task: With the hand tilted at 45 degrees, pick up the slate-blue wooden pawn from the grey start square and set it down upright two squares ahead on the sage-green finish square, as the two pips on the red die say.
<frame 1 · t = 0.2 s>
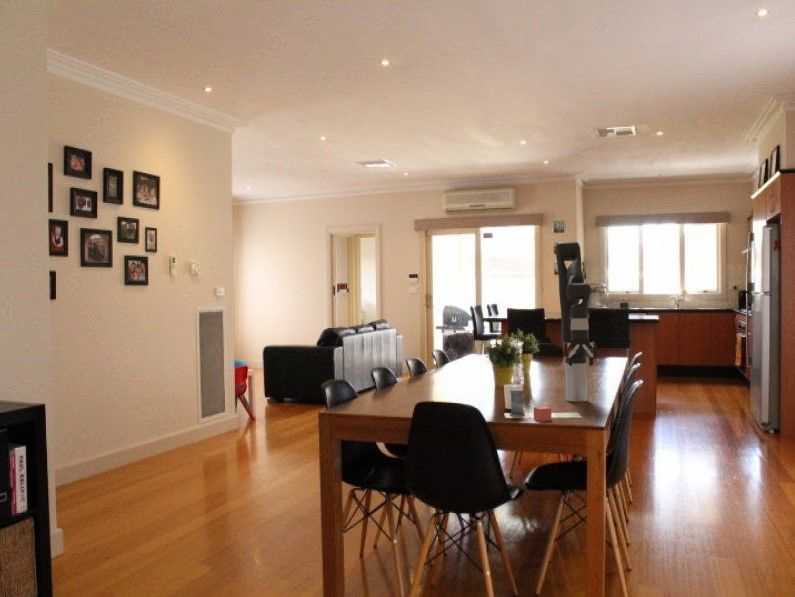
hand: (580, 366, 296), 17 cm above the table, tool pointing down, fingers open, 8 cm apart
game track: (542, 416, 273), on the table
white cup: (513, 409, 292), on the table
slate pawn: (517, 415, 274), resting on game track
red die: (542, 420, 264), on the table
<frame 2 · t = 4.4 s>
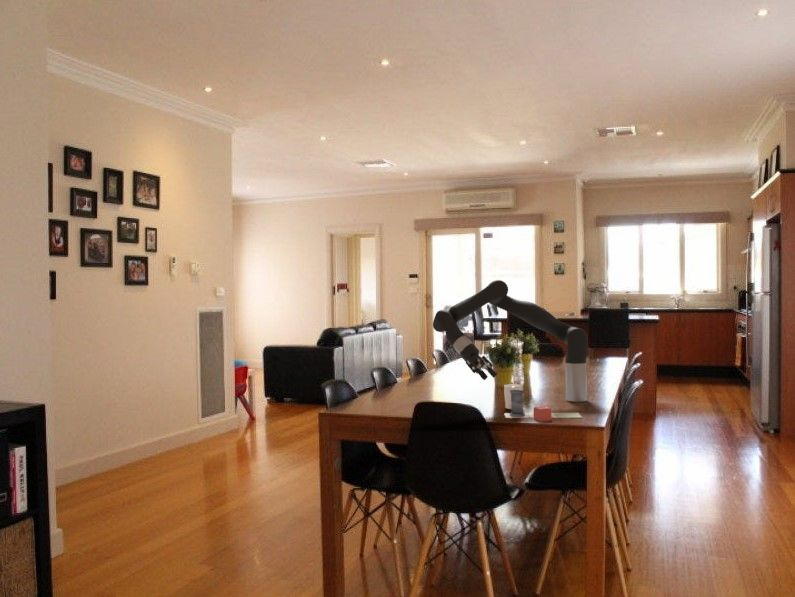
hand: (490, 377, 280), 15 cm above the table, tool tilted 45°, fingers open, 8 cm apart
nothing on the table moved.
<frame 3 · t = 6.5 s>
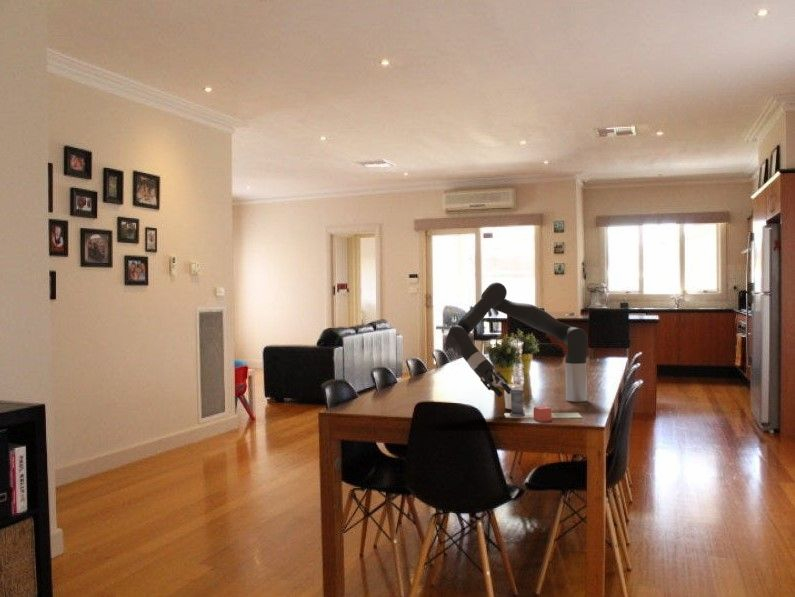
hand: (506, 394, 276), 9 cm above the table, tool tilted 45°, fingers open, 8 cm apart
nothing on the table moved.
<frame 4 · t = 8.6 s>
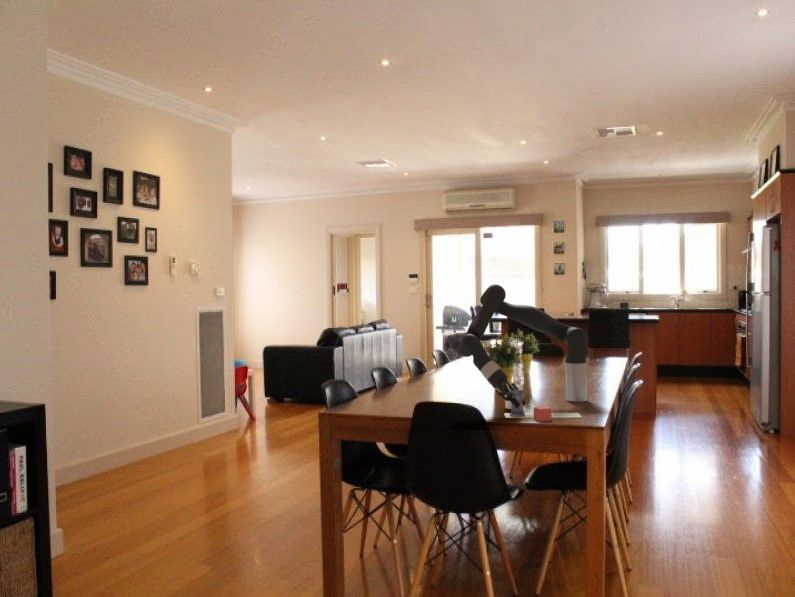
hand: (521, 405, 273), 5 cm above the table, tool tilted 45°, fingers closed on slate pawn, 4 cm apart
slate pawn: (517, 415, 274), resting on game track, touching gripper
everything else where it was.
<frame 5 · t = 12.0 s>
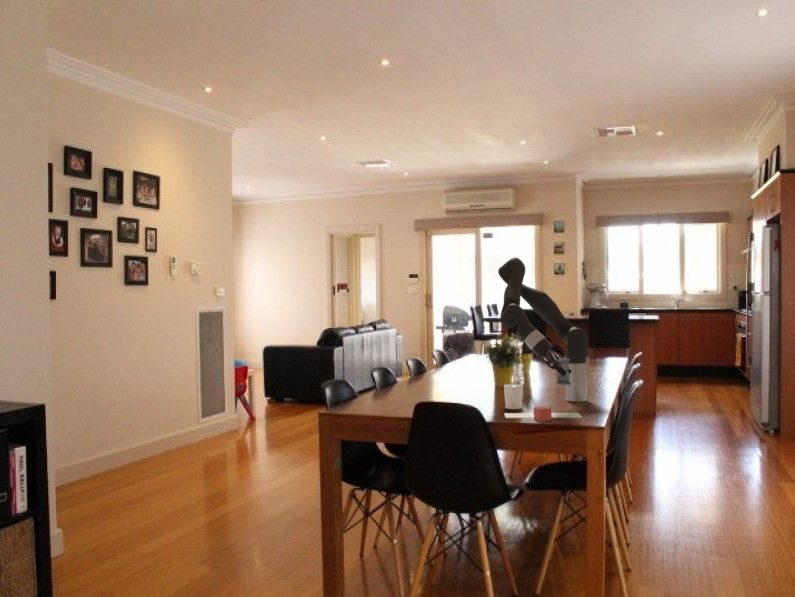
hand: (567, 374, 270), 17 cm above the table, tool tilted 45°, fingers closed on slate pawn, 4 cm apart
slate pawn: (563, 384, 272), point 13 cm above the table, touching gripper
everything else where it was.
when the fingers open (6 cm above the table, at t = 15.5 s): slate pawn drops 1 cm, resting on game track.
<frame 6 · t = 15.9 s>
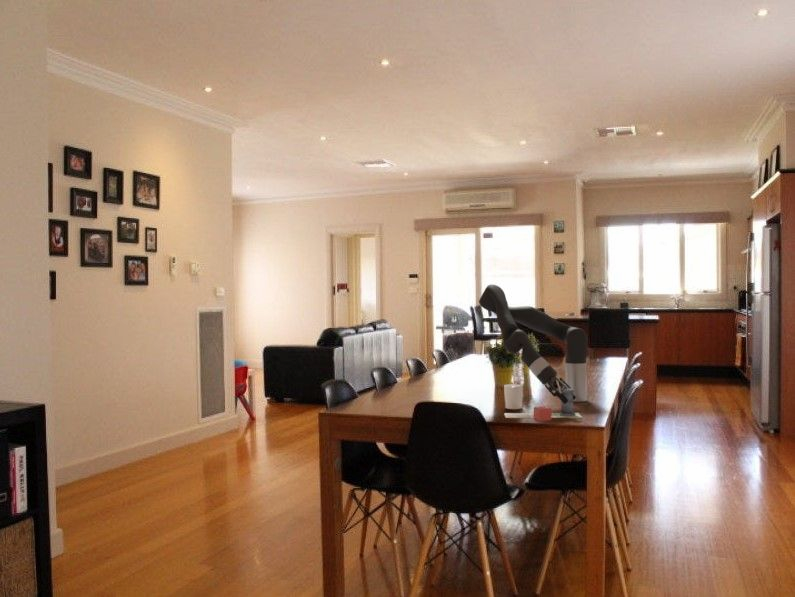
hand: (570, 400, 271), 6 cm above the table, tool tilted 45°, fingers open, 8 cm apart
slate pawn: (567, 415, 272), resting on game track
everything else where it was.
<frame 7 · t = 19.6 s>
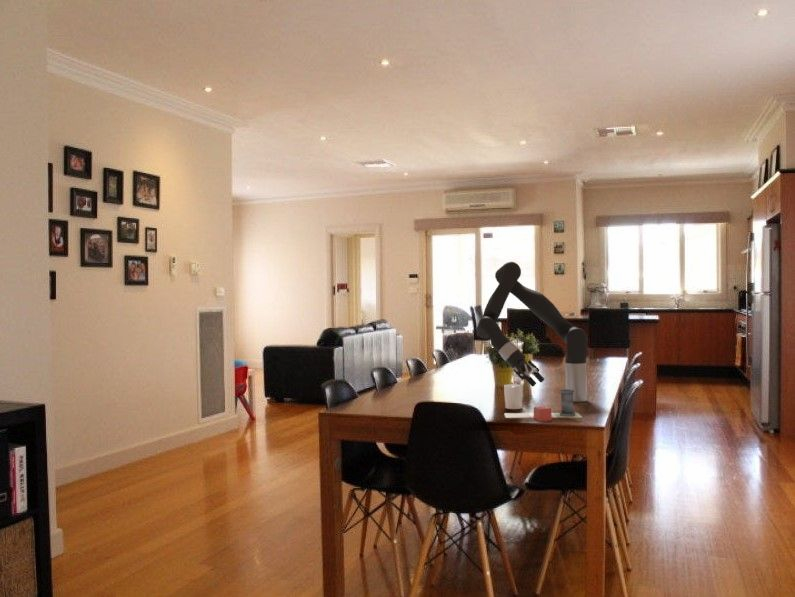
hand: (538, 383, 280), 12 cm above the table, tool tilted 45°, fingers open, 8 cm apart
nothing on the table moved.
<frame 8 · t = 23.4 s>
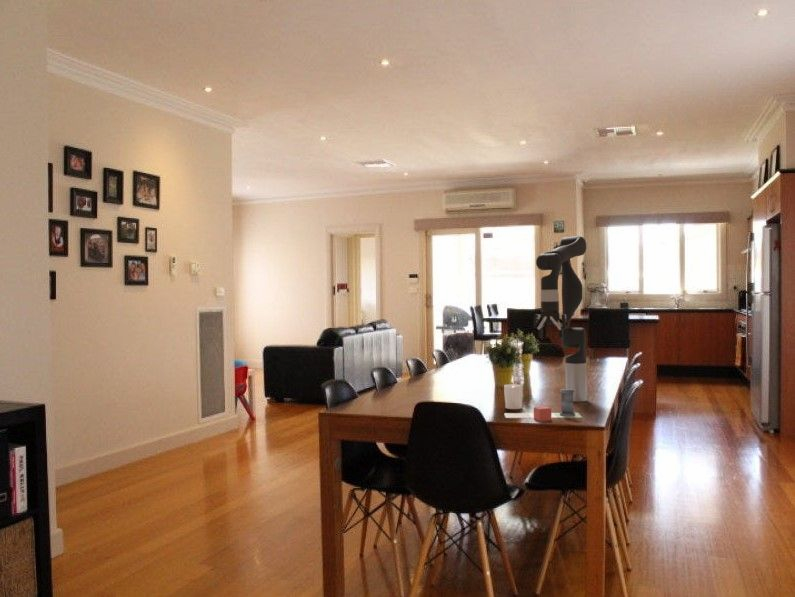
hand: (550, 338, 288), 30 cm above the table, tool pointing down, fingers open, 8 cm apart
nothing on the table moved.
at the end: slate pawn inside the target area (0.0 cm from its centre), resting on game track; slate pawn tilted 0°; the gripper is holding nothing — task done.
